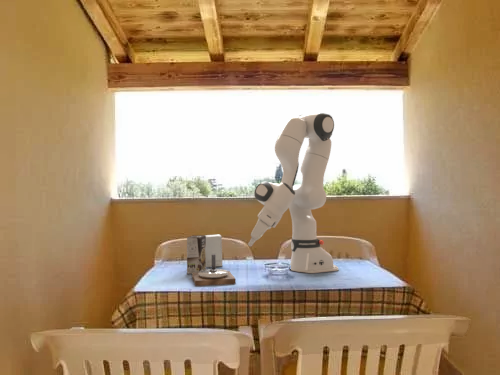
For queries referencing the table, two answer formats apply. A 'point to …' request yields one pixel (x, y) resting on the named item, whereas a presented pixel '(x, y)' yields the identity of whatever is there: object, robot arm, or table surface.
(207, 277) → the dial
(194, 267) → the coffee box
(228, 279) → the dial board
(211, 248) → the skincare box
